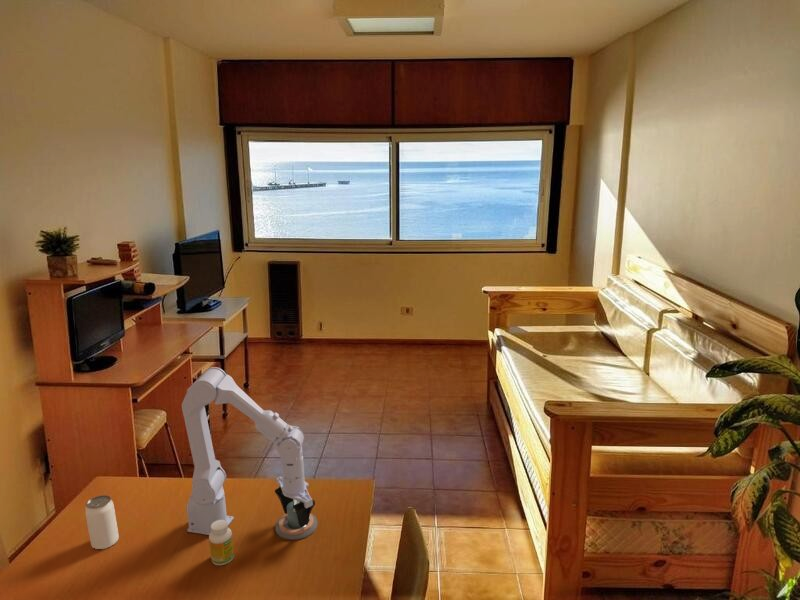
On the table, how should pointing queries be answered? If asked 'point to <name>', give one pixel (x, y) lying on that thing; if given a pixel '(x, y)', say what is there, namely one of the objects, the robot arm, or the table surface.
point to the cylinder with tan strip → (292, 515)
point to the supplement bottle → (221, 543)
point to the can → (101, 522)
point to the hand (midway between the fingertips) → (296, 518)
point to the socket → (295, 534)
